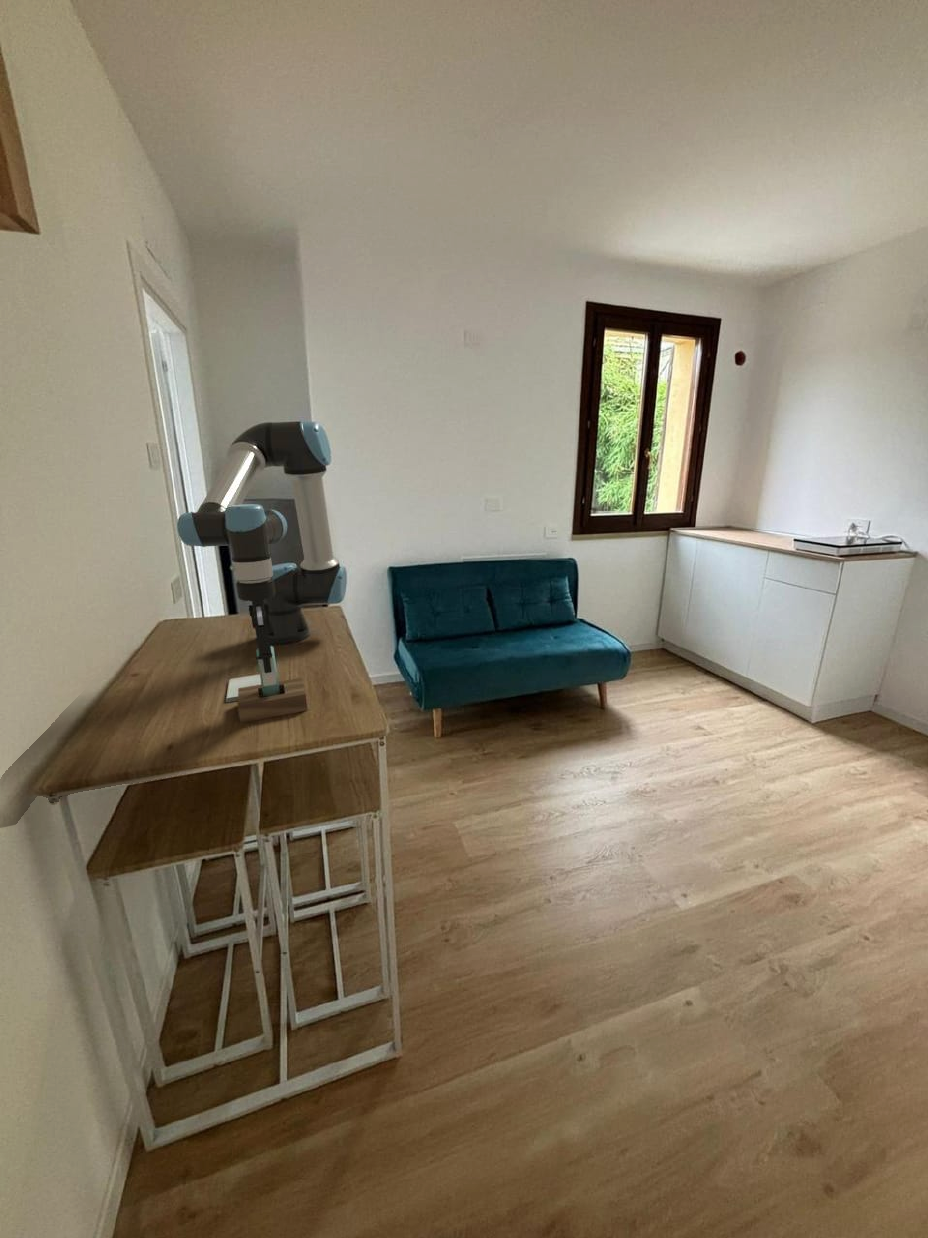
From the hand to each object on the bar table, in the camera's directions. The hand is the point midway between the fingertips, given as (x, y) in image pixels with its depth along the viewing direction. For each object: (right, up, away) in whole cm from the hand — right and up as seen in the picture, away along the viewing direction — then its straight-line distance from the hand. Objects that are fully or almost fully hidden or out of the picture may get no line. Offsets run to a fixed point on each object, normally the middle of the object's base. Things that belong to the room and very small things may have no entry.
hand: (269, 681), depth 115 cm
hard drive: (-10, -4, +12) cm, 16 cm away
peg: (0, -4, +1) cm, 4 cm away
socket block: (0, -6, +2) cm, 6 cm away
